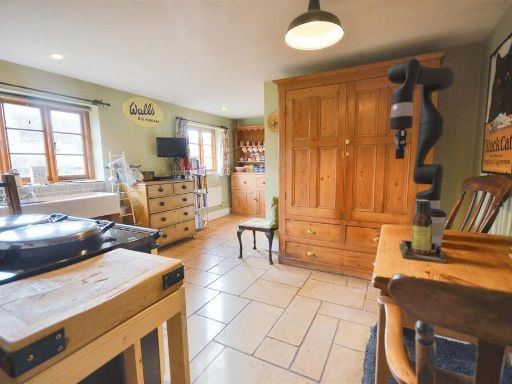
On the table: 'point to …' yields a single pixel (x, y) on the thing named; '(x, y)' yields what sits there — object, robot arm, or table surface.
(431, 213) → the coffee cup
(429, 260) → the keeper cradle
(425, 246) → the sauce bottle
